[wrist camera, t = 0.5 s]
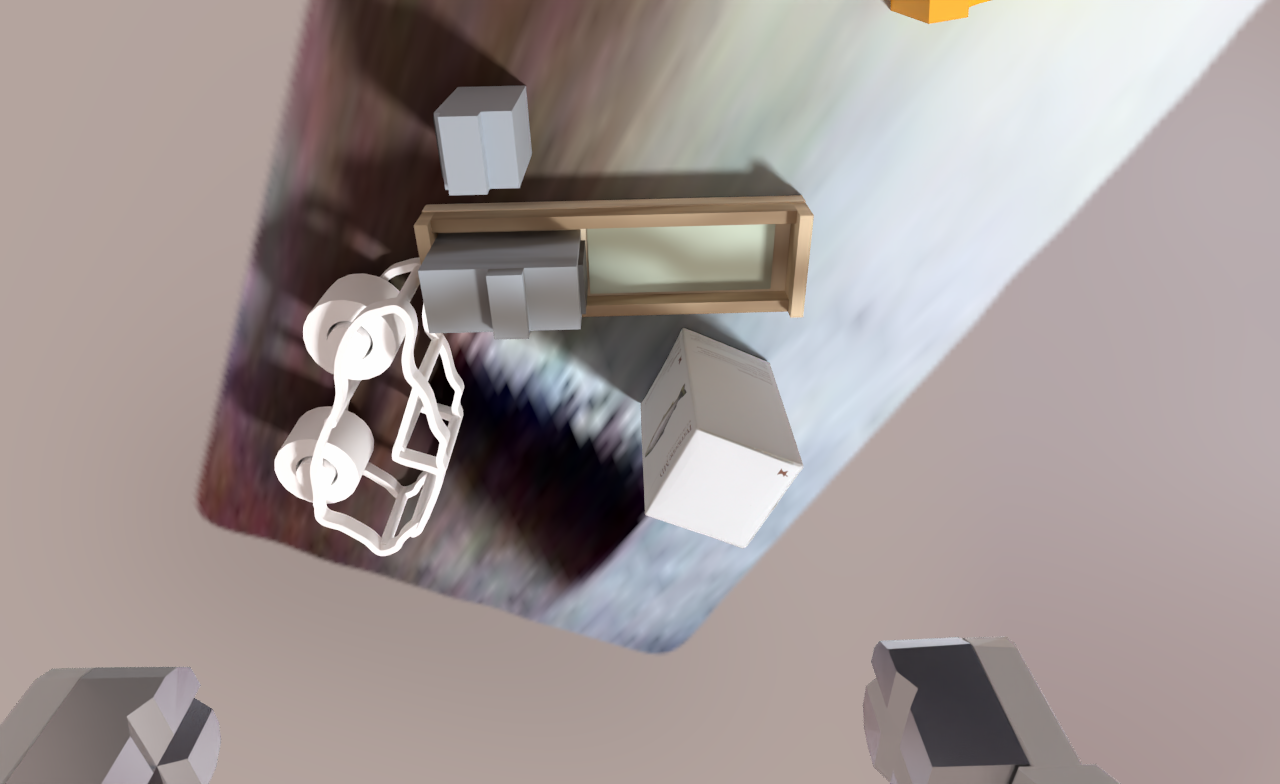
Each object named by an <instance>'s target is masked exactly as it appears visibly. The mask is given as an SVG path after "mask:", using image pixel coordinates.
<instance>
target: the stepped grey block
mask: <svg viewBox="0 0 1280 784" xmlns="http://www.w3.org/2000/svg"><path fill="white" fill-rule="evenodd" d="M433 120H434V127H435V133H436V140H437V146H438V153H439V159H440V166H441V172H442V177H443V178H444V184H445V190H449V195H487V194H488V192H489V190H490V189H505V188H520V186H521V183H522V180H523V177H524V175H525V172H526V169H527V166H528V163H529V161H530V158H531V155H532V150H531V139H530V128H529V117H528V105H527V94H526V85H524V86H480V87H457V88H456V89H455V91H454V92H453V93H452V94H451V95H450V96H449V97H448V98H447V99H446V100H445V101H444V102H443V103H442V104H441V105H440V106H439V108H438V109H437V110H436V111H435V112H434V116H433Z"/></svg>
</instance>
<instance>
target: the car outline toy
mask: <svg viewBox="0 0 1280 784" xmlns="http://www.w3.org/2000/svg"><path fill="white" fill-rule="evenodd" d="M420 266H421V263H420V258H411V259H409V260H405V261H401V262H398V263H395V264H393V265H392V266H390V267H389V268H388V269H387V270H386V271H385V272H384V273H383V274H382V275H381V276H380V277H378V276H374V275H369V274H364V273H361V274H349V275H347V276H345V277H342V278H340V279H338V280H337V281H336V282H335V283H333V284H332V285H331V286H330V287H329V289H328V290H327V291H326V292H325V294H324V295H323V296H322V298H321V299H320V300H319V302H318V303H317V304H316V305H315V307H314V308H313V309H312V311H311V312H310V313H309V315H308V317H307V319H306V321H305V323H304V326H303V340H304V342H305V345H306V348H307V351H308V352H309V354H310V355H311V356H312V358H313V359H314V361H315V362H316V363H317V364H319V365H320V366H321V367H322V368H324V369H325V370H326V371H327V372H330V373H332V374H334V382H335V392H336V394H335V400H334V404H333V406H332V407H331V406H327V407H317V408H314V409H312V410H309V411H307V412H306V413H305V414H304V415H303V416H301V417H300V418H299V420H298V422H297V423H296V425H295V426H294V428H293V430H292V431H291V433H290V434H289V436H288V437H287V439H286V441H285V442H284V444H283V445H282V447H281V449H280V450H279V452H278V454H277V456H276V458H275V472H276V475H277V477H278V480H279V481H280V482H281V484H282V485H283V486H284V487H285V488H286V489H287V490H288V491H289V492H291V493H292V494H294V495H295V496H297V497H299V498H301V499H304V500H306V501H309V502H313V506H314V513H315V518H316V520H317V521H318V522H319V523H320V524H321V525H323V526H325V527H329V528H332V529H336V530H339V531H342V532H343V533H345V534H347V535H349V536H351V537H353V538H355V539H356V540H358V541H360V542H361V543H363V544H365V545H366V546H367V547H368V548H369V549H370V550H371V551H372V552H373V553H375V554H376V555H379V556H387V555H390V554H393V553H395V552H397V551H399V550H400V548H401V547H402V545H403V543H404V542H405V541H406V540H407V539H408V538H409V537H410V536H411V537H416V536H418V535H420V534H421V533H422V531H423V529H424V527H425V525H426V523H427V521H428V519H429V517H430V515H431V512H432V510H433V507H434V505H435V503H436V500H437V498H438V495H439V492H440V489H441V486H442V483H443V480H444V476H445V472H446V469H447V467H448V463H449V460H450V457H451V453H452V450H453V447H454V444H455V440H456V437H457V434H458V431H459V427H460V424H461V421H462V417H463V409H462V407H461V404H460V400H461V396H462V393H463V390H464V383H463V381H462V379H461V378H460V376H459V375H458V373H457V372H456V369H455V366H454V362H453V358H452V353H451V350H450V347H449V344H448V342H447V340H446V338H445V337H444V335H443V334H442V333H429V329H428V323H427V318H426V313H425V307H424V304H423V310H422V321H423V327H424V330H425V332H426V334H427V335H428V337H429V338H430V339H431V342H430V344H429V347H428V349H427V351H426V354H425V356H424V358H423V361H422V363H421V365H420V367H419V370H418V369H417V367H416V365H415V361H414V353H413V351H414V344H415V339H416V335H417V329H418V319H417V315H416V312H415V310H414V308H413V306H412V305H411V304H410V301H411V299H412V297H413V295H414V294H415V292H416V290H417V288H418V286H419V284H420V280H419V274H418V270H419V268H420ZM410 271H411V273H410V275H409V277H408V278H407V280H406V282H405V284H404V285H403V287H402V289H401V291H399V290H398V289H397V288H395V287H394V286H393V285H392V284H391V283H390V282H388V281H389V280H390V279H391V278H392V277H394V276H396V275H400V274H403V273H407V272H410ZM405 335H406V337H405ZM404 337H405V343H404V347H403V352H402V369H403V374H404V377H405V379H406V380H407V382H408V383H409V384H410V385H411V386H412V391H411V394H410V397H409V400H408V403H407V407H406V410H405V413H404V416H403V420H402V423H401V426H400V430H399V433H398V436H397V439H396V441H395V443H394V446H393V448H392V460H393V461H395V462H397V463H399V464H402V465H405V466H408V467H412V468H415V469H419V470H423V472H422V473H421V474H420V475H419V477H418V478H417V481H416V482H415V483H413V484H411V485H408V486H402V485H401V484H400V483H399V482H398V481H397V480H396V479H395V478H394V477H393V476H391V475H390V474H388V473H387V472H385V471H383V470H382V469H380V468H378V467H377V466H375V465H373V464H371V463H369V462H368V461H369V459H370V457H371V454H372V452H373V450H374V438H373V435H372V432H371V430H370V428H369V427H368V426H367V424H366V423H365V422H364V421H363V420H362V419H361V418H359V417H358V416H357V415H355V414H354V413H352V412H349V411H348V406H349V402H350V399H351V397H352V396H353V394H354V392H355V390H356V388H357V386H358V385H359V383H360V381H361V380H364V379H370V378H373V377H375V376H378V375H380V374H382V373H383V372H384V371H385V370H386V369H387V368H389V367H390V365H391V363H392V361H393V359H394V357H395V355H396V353H397V351H398V349H399V347H400V345H401V343H402V341H403V339H404ZM439 353H440V355H441V358H442V362H443V366H444V370H445V374H446V377H447V380H448V382H449V383H450V385H451V386H452V388H453V389H454V391H455V394H454V400H453V403H452V407H449V406H446V405H443V404H439V403H436V399H435V395H434V393H433V390H432V388H431V386H430V384H429V383H428V379H429V377H430V374H431V372H432V369H433V367H434V364H435V362H436V360H437V357H438V355H439ZM420 412H422V413H425V414H426V416H427V420H428V423H429V426H430V429H431V431H432V433H433V434H434V436H435V437H436V438H437V440H438V441H439V443H440V444H439V448H438V453H437V456H436V457H435V456H432V455H429V454H425V453H421V452H418V451H414V450H411V449H408V448H406V447H407V444H408V442H409V439H410V437H411V434H412V432H413V429H414V427H415V424H416V422H417V419H418V416H419V414H420ZM441 418H442V419H445V420H447V421H449V424H448V427H447V426H446V425H445V423H444V422H443V420H442V419H441ZM362 475H364V476H366V477H368V478H370V479H371V480H373V481H375V482H376V483H378V484H380V485H381V486H383V487H384V488H386V489H387V490H388V491H389V492H390V493H391V494H392V495H393V496H394V497H395V498H396V501H395V503H394V506H393V509H392V511H391V514H390V517H389V519H388V522H387V525H386V527H385V530H384V533H383V535H382V538H381V537H380V536H379V535H378V534H377V533H376V532H375V531H374V530H373V529H371V528H370V527H368V526H366V525H365V524H363V523H361V522H359V521H357V520H356V519H354V518H352V517H350V516H348V515H345V514H342V513H338V512H335V511H332V510H330V509H329V508H328V507H327V504H328V503H336V502H339V501H342V500H344V499H346V498H347V497H349V496H350V495H351V494H352V493H353V492H354V491H355V489H356V487H357V485H358V483H359V481H360V479H361V476H362ZM423 484H424V485H423ZM422 485H423V488H422V491H421V494H420V497H419V500H418V503H417V506H416V509H415V512H414V515H413V518H412V520H410V521H409V522H408V523H407V524H406V525H405V526H404V527H403V528H402V529H401V531H400V533H399V535H398V536H396V537H394V535H395V533H396V530H397V527H398V524H399V521H400V519H401V516H402V513H403V510H404V507H405V505H406V502H407V499H408V498H410V497H412V496H414V495H416V494H417V493H418V492H419V490H420V488H421V487H422Z"/></svg>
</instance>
